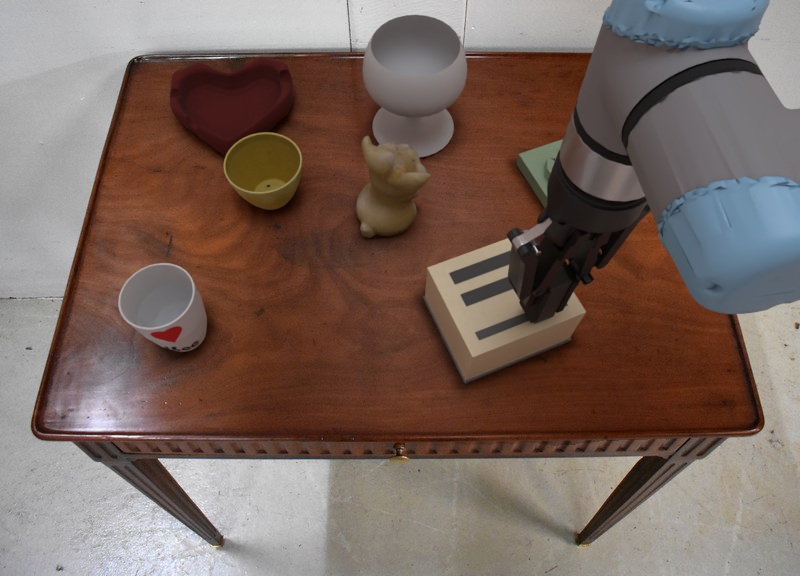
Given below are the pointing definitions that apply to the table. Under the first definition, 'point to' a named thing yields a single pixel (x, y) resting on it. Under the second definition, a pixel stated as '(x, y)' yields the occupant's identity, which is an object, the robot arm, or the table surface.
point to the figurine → (389, 188)
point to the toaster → (489, 313)
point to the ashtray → (231, 100)
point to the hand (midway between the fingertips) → (540, 306)
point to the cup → (164, 307)
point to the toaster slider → (555, 294)
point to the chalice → (414, 81)
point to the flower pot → (264, 169)
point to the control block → (539, 167)
